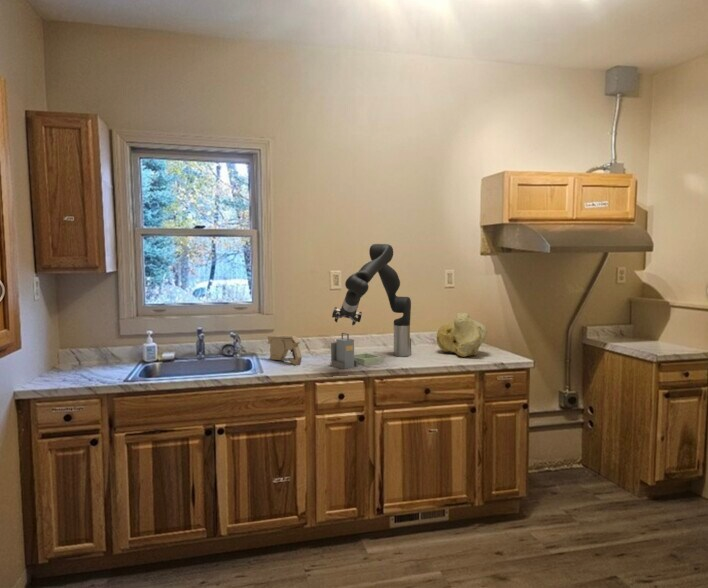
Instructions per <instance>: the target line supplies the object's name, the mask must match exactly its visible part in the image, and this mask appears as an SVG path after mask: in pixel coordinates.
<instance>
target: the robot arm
mask: <svg viewBox="0 0 708 588" xmlns="http://www.w3.org/2000/svg"><path fill="white" fill-rule="evenodd" d="M393 248H394V247H393V246H392V245H390V244H387V243H373V244H372V245H371V246H369V257H370V261H368V262H367V263H365V264H364V265H362V266H361V267H360V269H359V270H358V271H357V272H355V273H353V274H351V275H350V276H349V277H348V278H347V279H346V281H345V283H344V285H345V288H346V289H347V292H346V293H345V297H344V299H343V301H342V304H341V308H340V309H339V308H338V307H337V306H335V307H334V309H333V310H332V313H331V314H332V316H331V317H332V318H334V322H335V323H338V320H339V319H342V318H346V319H350V320H351V321H352V323H351V325H352V326H355V325H356V323H357V322H358V323H360V322H361V318H362V314H363V313H362V311H359V312H357V310H358V308H359V305H360V301H361V298H362V297H363V296H365V294H367V293H368V291H369V283H370V282H371V281H372V279H373V278H374V276H375V275H376V274H378V275H379V278H380V280H381V283H382V285H383V288H384V290H385V293H386V295H387V298H388V302H389V305H390V309H391V311H392V312H393V313H395V314H402V316H400V317H399V318H395V319H394V320H393V356H395V357H409V356H412V337H411V315H412V314H411V312H412V311H411V310H412V299H411V298H410V297H409V296H397V295H396V294H397V292H398V290H399V289H400V286H401V280H400V277H399V275H398V273H397V272H396V271H397V270H395V269H394V268H393V267H391V266H390V265H389V263H390V262H391V261H392V259H393V257H394V249H393Z"/></svg>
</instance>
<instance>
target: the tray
mask: <svg viewBox="0 0 708 588" xmlns="http://www.w3.org/2000/svg"><path fill="white" fill-rule="evenodd" d="M354 360H358V365H362V366H368V365H374V364H379V363H382V362H383V356H381V355H378V354H377V355H376V354H373V353H368V352H364V353H358V354H354Z"/></svg>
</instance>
